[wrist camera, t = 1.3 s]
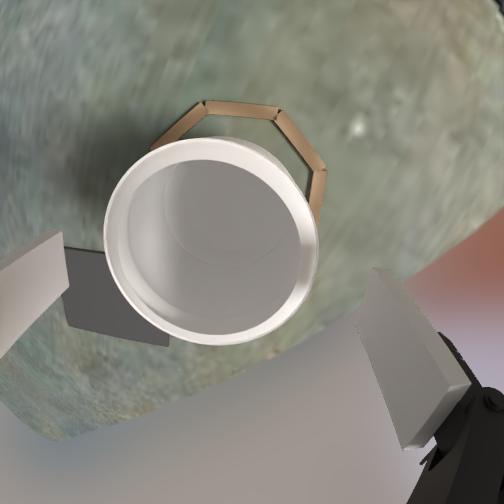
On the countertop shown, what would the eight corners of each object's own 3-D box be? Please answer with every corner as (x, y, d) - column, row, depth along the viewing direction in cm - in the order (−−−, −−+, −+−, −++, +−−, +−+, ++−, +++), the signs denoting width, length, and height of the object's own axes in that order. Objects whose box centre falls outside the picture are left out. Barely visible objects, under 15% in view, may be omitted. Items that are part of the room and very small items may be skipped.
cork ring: (147, 263, 31) (145, 266, 30) (153, 99, 24) (151, 99, 24) (305, 282, 31) (306, 284, 30) (333, 117, 25) (335, 116, 24)
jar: (155, 175, 27) (66, 221, 13) (250, 113, 25) (240, 90, 11) (217, 265, 30) (186, 372, 16) (310, 213, 28) (356, 293, 14)
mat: (70, 323, 34) (68, 325, 34) (56, 245, 30) (54, 247, 30) (169, 344, 34) (168, 346, 34) (167, 260, 30) (165, 262, 30)
